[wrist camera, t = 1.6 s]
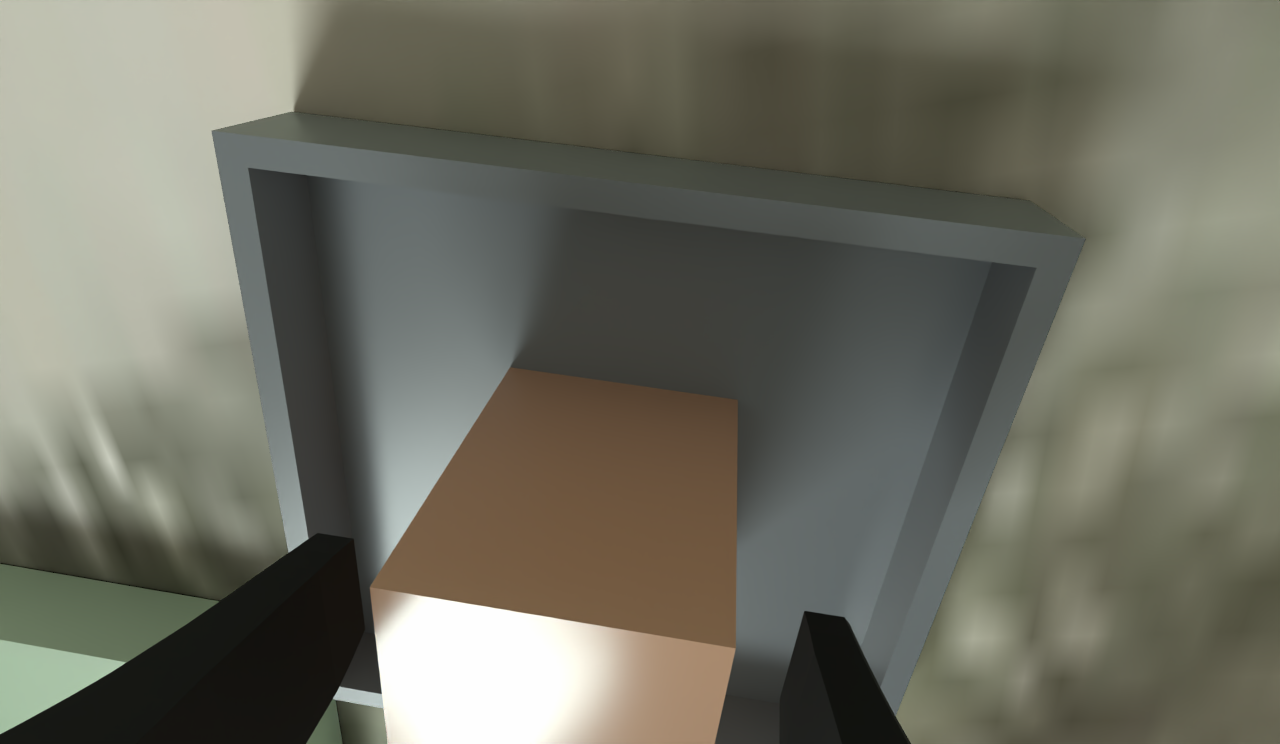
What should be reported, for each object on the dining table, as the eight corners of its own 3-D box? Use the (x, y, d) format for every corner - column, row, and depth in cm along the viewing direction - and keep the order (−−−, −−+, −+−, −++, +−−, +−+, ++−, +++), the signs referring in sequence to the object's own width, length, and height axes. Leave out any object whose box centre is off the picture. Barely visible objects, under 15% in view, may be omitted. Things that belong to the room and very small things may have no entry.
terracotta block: (738, 400, 14) (735, 647, 8) (706, 574, 16) (688, 861, 10) (510, 367, 14) (369, 587, 9) (508, 542, 16) (394, 805, 11)
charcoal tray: (1029, 200, 12) (1086, 238, 10) (850, 709, 18) (864, 794, 16) (291, 111, 13) (211, 130, 11) (358, 625, 19) (314, 695, 17)
